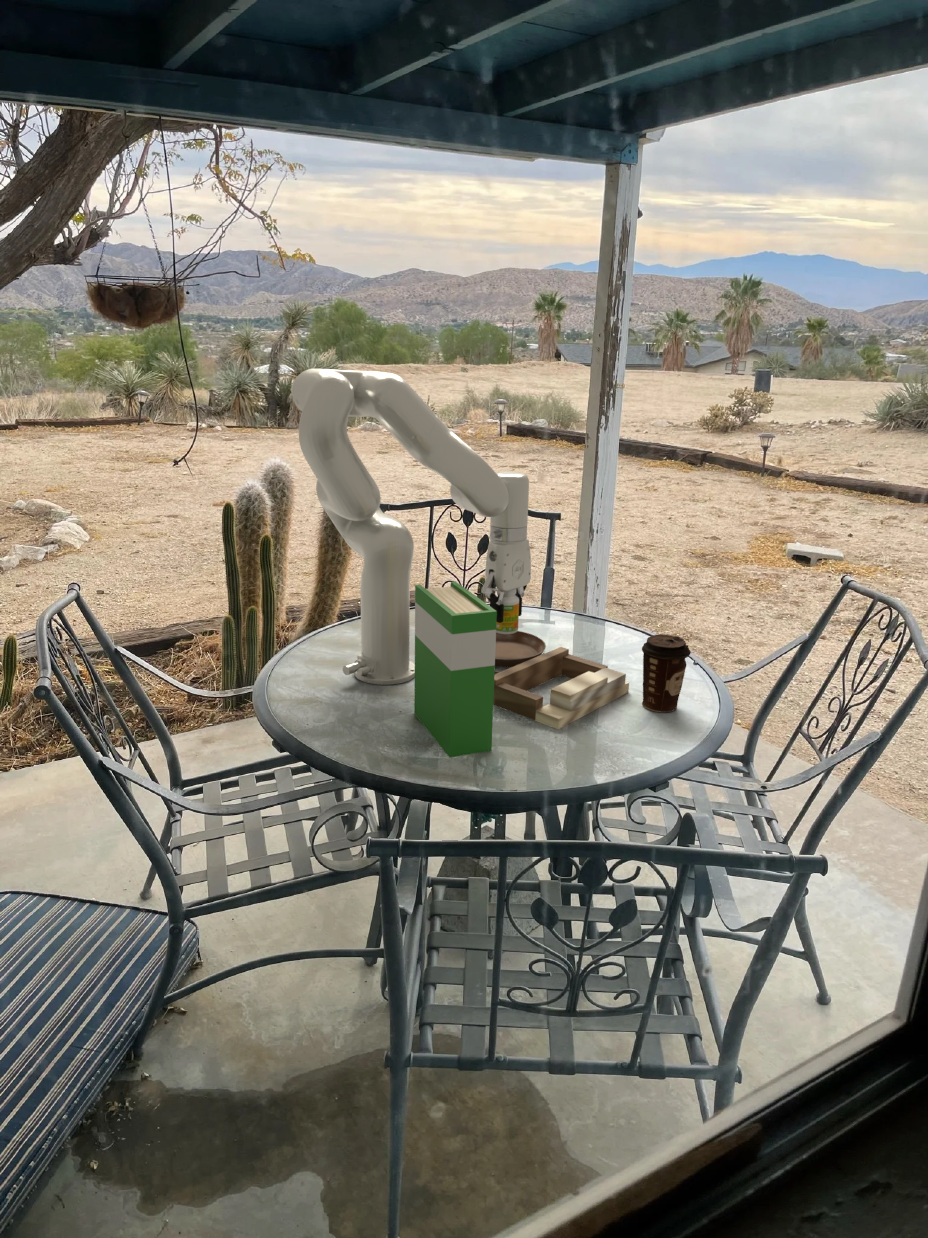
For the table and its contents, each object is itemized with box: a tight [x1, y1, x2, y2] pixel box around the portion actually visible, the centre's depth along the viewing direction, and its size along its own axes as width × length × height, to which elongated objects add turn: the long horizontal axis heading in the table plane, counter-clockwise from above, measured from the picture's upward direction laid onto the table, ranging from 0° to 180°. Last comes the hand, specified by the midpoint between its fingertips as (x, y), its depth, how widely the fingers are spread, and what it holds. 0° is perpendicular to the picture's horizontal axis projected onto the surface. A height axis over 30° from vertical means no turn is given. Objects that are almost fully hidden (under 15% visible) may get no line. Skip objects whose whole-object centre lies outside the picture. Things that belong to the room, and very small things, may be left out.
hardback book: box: [413, 581, 497, 758], centre depth 142 cm, size 18×7×24 cm, turn 22°
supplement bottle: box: [495, 589, 520, 634], centre depth 178 cm, size 5×5×10 cm
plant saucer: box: [495, 630, 547, 668], centre depth 181 cm, size 18×18×3 cm
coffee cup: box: [641, 633, 692, 713], centre depth 156 cm, size 9×8×13 cm
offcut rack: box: [493, 646, 630, 730], centre depth 160 cm, size 23×16×5 cm
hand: (505, 617), depth 178 cm, fingers closed on supplement bottle, 5 cm apart
